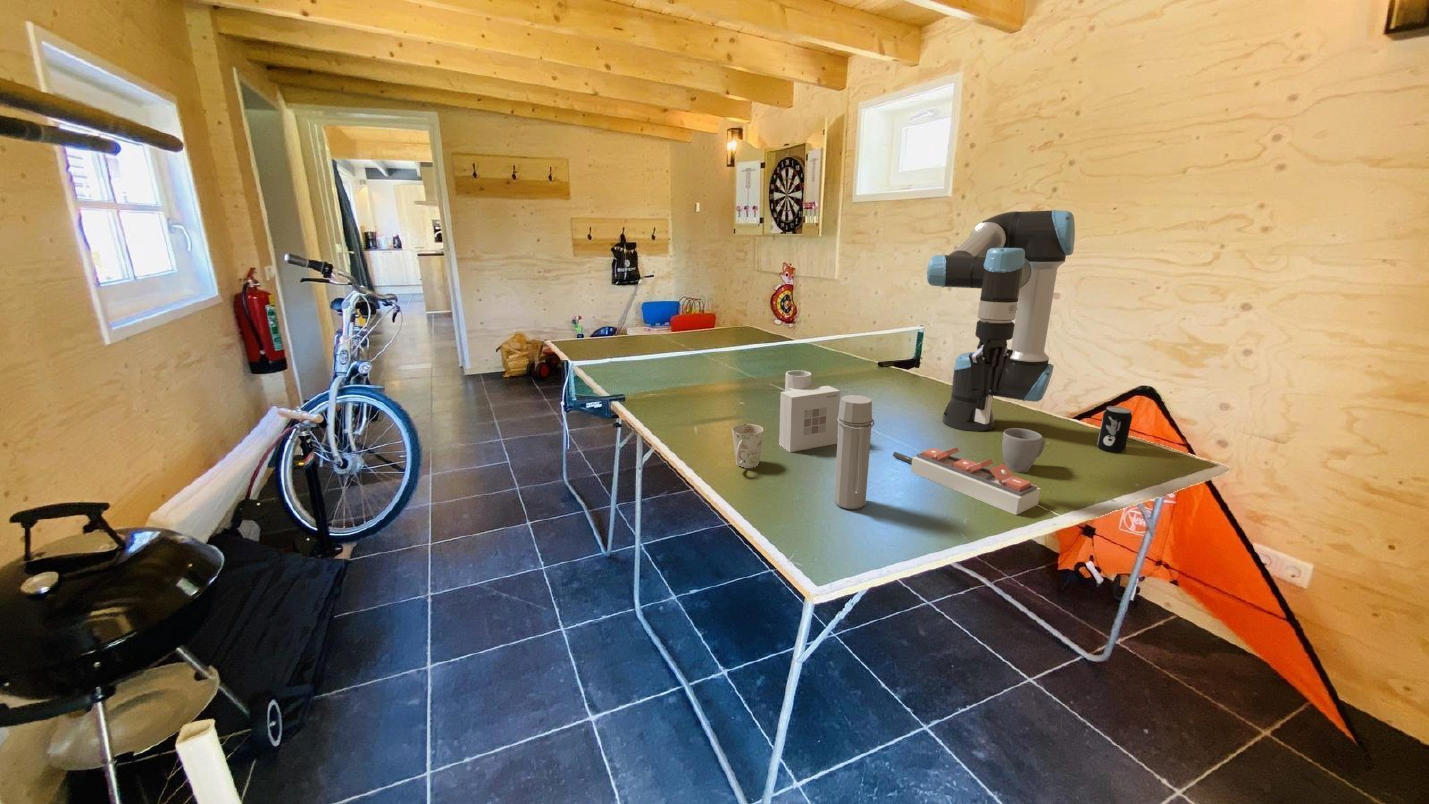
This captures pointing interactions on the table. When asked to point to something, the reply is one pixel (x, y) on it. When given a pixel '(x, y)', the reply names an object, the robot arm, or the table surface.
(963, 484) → the power strip
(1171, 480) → the table surface
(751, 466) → the mug
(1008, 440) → the mug
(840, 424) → the water bottle
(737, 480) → the table surface
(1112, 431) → the beverage can
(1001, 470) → the rocker
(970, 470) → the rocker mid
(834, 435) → the white detergent container
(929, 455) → the rocker
